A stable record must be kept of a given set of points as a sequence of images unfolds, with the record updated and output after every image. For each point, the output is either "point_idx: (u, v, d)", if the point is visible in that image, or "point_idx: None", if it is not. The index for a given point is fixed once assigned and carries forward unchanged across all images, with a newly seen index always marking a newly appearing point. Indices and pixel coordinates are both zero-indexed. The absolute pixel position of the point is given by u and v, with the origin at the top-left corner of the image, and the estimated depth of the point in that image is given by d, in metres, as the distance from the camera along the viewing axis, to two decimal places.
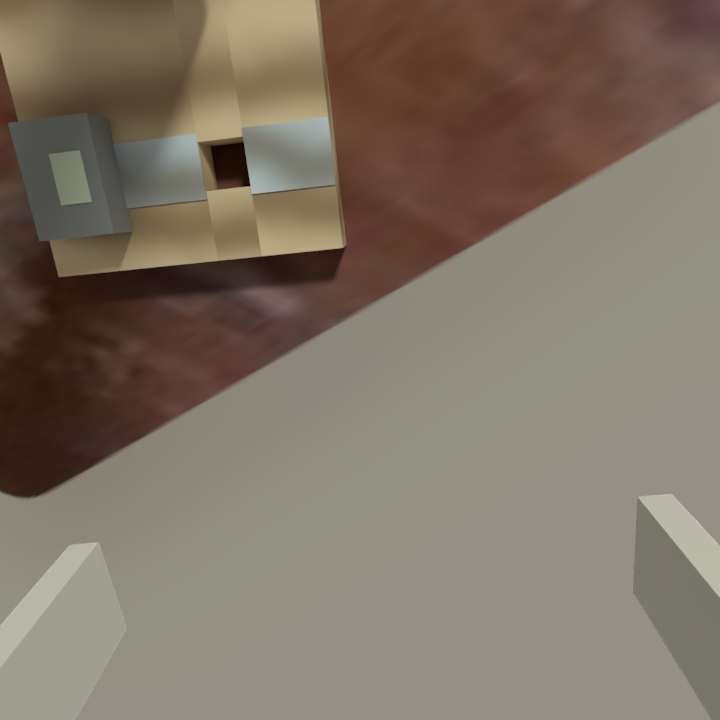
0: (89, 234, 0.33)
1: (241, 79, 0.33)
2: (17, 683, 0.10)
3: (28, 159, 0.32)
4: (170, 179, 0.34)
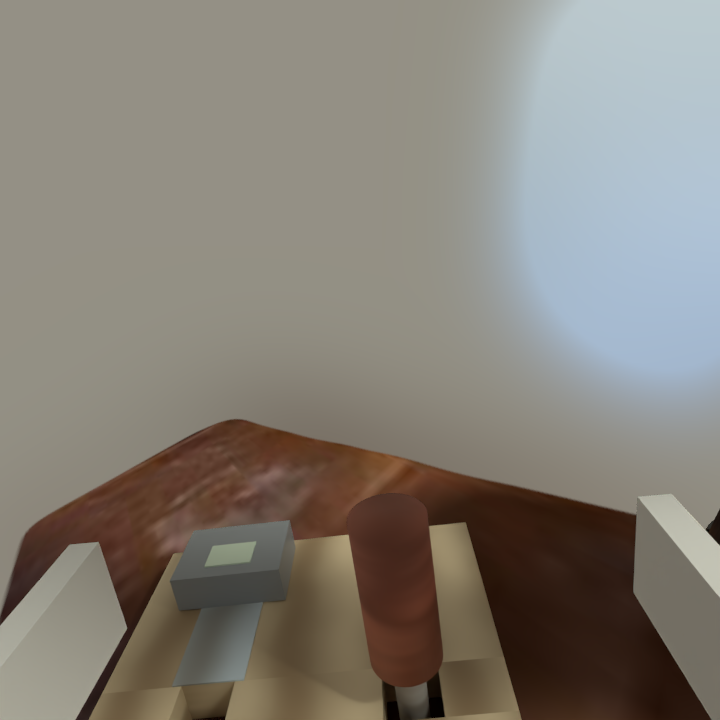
0: (179, 563, 0.35)
1: None
2: (17, 682, 0.10)
3: (258, 529, 0.37)
4: (209, 649, 0.31)
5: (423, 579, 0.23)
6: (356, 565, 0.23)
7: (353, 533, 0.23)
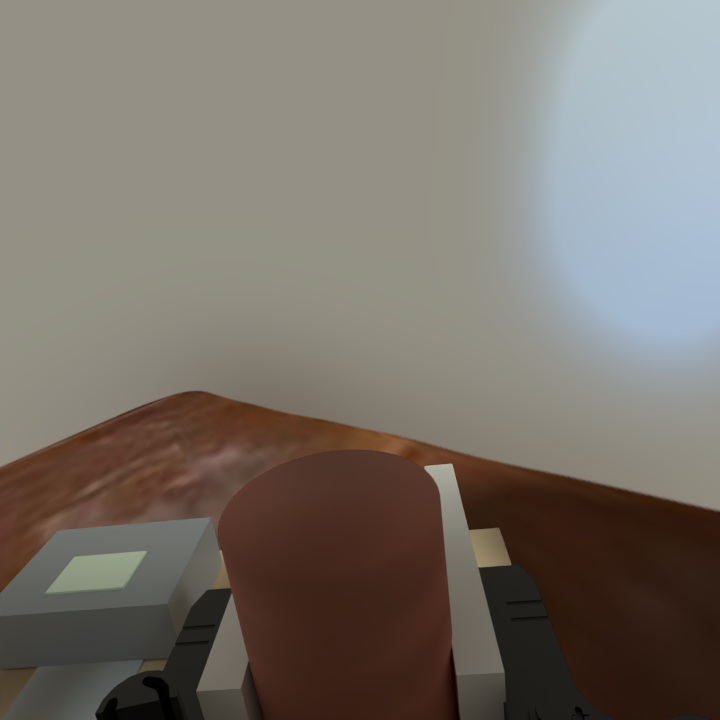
0: (9, 585, 0.20)
1: None
2: None
3: (157, 531, 0.23)
4: None
5: (424, 680, 0.08)
6: (243, 634, 0.09)
7: (225, 549, 0.08)
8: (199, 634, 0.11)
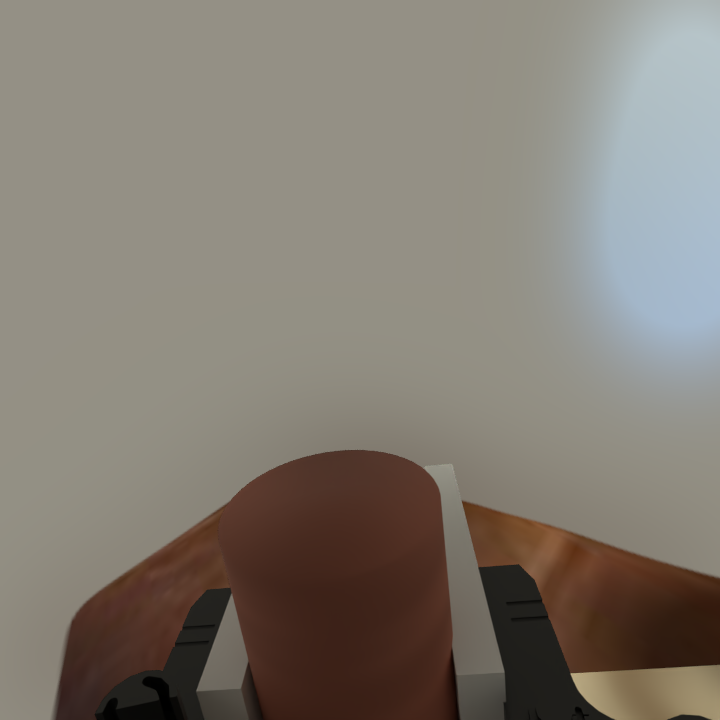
0: None
1: None
2: None
3: None
4: None
5: (425, 682, 0.08)
6: (243, 635, 0.09)
7: (225, 550, 0.08)
8: (199, 634, 0.11)
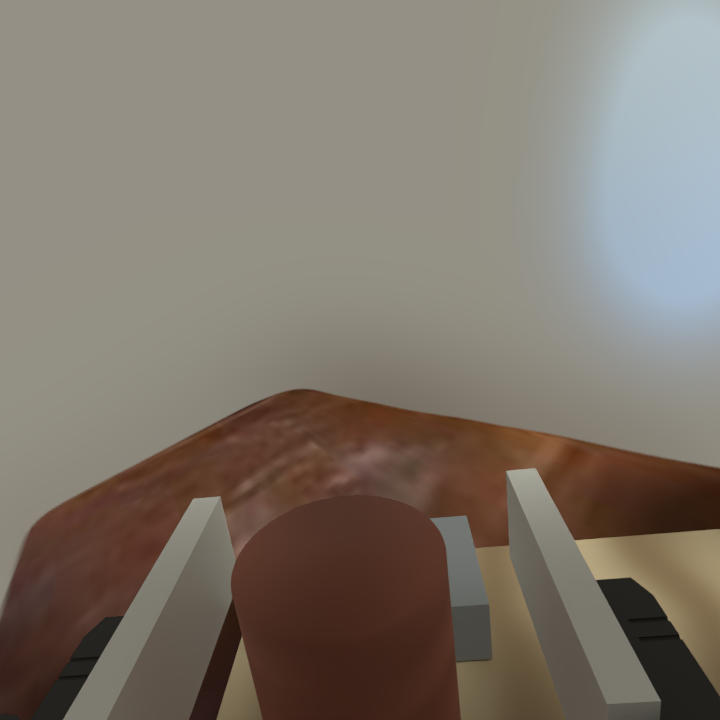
0: None
1: None
2: (180, 608, 0.11)
3: None
4: None
5: None
6: (254, 684, 0.09)
7: (239, 606, 0.08)
8: (85, 667, 0.10)
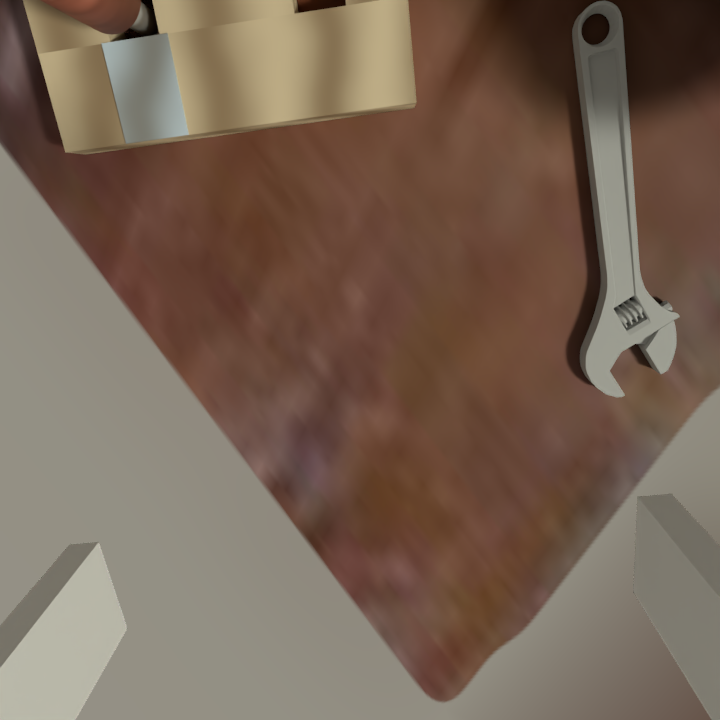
0: None
1: (214, 34, 0.31)
2: (17, 682, 0.10)
3: None
4: None
5: None
6: None
7: None
8: None
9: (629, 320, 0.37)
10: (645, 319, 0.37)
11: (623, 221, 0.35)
